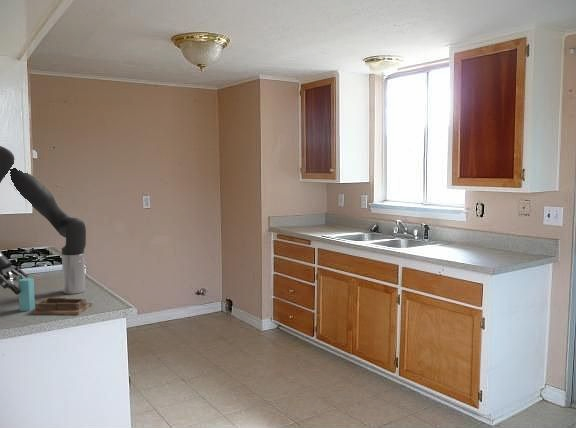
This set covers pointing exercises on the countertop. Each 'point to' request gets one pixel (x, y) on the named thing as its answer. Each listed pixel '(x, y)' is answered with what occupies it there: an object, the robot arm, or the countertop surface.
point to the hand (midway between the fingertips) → (25, 290)
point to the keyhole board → (61, 306)
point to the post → (26, 294)
